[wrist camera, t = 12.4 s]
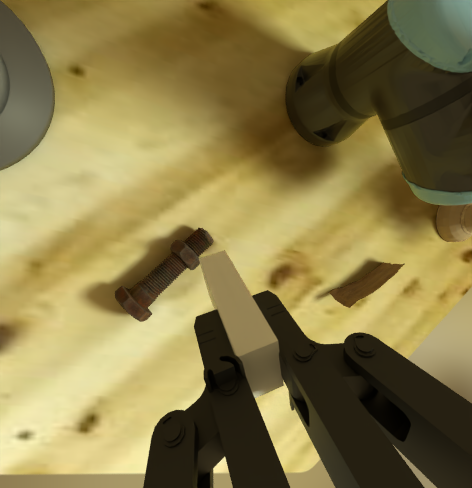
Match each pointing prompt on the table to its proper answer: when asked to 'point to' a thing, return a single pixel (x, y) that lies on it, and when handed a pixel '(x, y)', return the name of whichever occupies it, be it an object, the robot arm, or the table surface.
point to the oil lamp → (454, 222)
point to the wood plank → (365, 284)
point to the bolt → (163, 275)
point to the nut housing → (22, 91)
